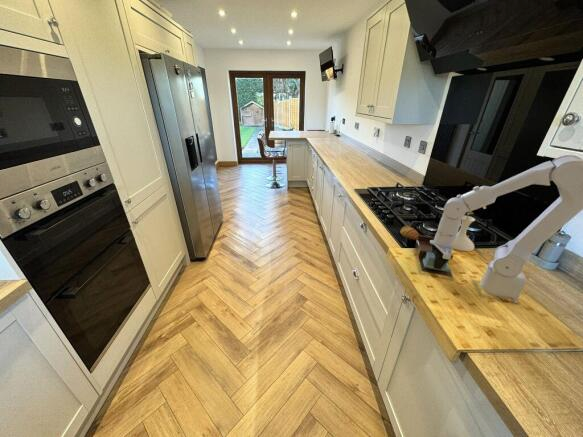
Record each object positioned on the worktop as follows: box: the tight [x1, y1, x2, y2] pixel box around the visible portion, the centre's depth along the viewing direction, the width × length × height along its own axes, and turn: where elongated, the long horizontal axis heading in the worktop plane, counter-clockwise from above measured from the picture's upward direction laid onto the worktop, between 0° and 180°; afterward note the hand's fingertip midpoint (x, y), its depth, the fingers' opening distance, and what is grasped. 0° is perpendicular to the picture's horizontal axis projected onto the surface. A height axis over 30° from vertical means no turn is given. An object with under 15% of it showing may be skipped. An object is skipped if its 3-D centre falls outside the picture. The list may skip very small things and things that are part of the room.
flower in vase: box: [452, 206, 487, 252], centre depth 97 cm, size 13×11×25 cm
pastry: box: [399, 225, 421, 241], centre depth 108 cm, size 9×7×4 cm
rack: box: [414, 234, 454, 278], centre depth 90 cm, size 10×18×6 cm, turn 161°
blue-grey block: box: [423, 252, 451, 272], centre depth 85 cm, size 8×4×4 cm, turn 71°
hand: (436, 264), depth 86 cm, fingers closed on blue-grey block, 4 cm apart
